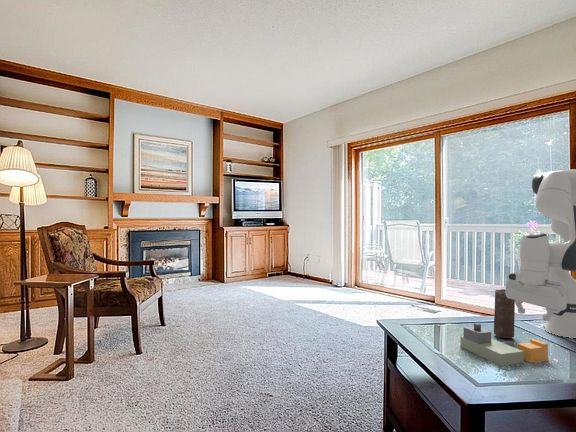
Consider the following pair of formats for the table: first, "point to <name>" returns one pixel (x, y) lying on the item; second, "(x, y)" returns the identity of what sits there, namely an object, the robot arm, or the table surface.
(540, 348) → the orange lidded box
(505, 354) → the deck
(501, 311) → the candle
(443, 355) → the table surface
